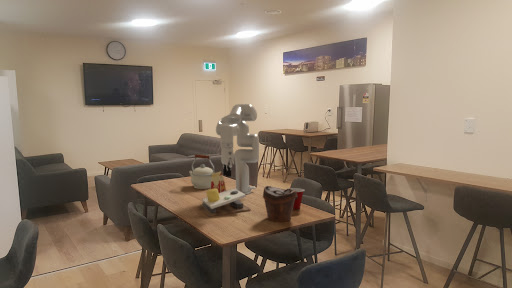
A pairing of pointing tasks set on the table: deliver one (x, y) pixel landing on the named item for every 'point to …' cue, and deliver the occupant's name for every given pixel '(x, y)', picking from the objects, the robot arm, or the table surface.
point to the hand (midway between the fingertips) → (227, 175)
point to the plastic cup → (298, 201)
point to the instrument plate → (222, 197)
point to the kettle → (201, 174)
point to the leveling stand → (224, 208)
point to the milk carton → (218, 182)
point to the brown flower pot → (279, 203)
